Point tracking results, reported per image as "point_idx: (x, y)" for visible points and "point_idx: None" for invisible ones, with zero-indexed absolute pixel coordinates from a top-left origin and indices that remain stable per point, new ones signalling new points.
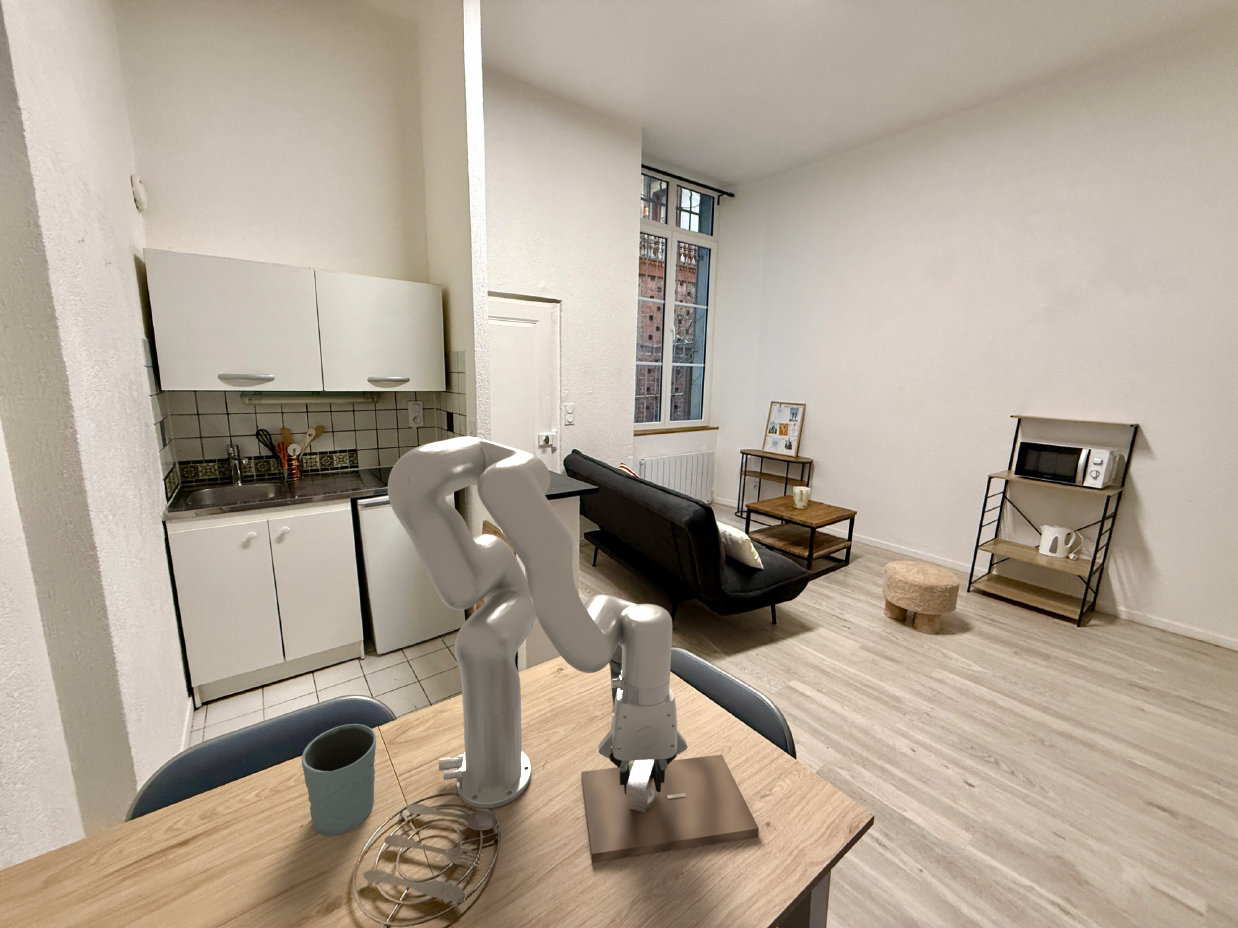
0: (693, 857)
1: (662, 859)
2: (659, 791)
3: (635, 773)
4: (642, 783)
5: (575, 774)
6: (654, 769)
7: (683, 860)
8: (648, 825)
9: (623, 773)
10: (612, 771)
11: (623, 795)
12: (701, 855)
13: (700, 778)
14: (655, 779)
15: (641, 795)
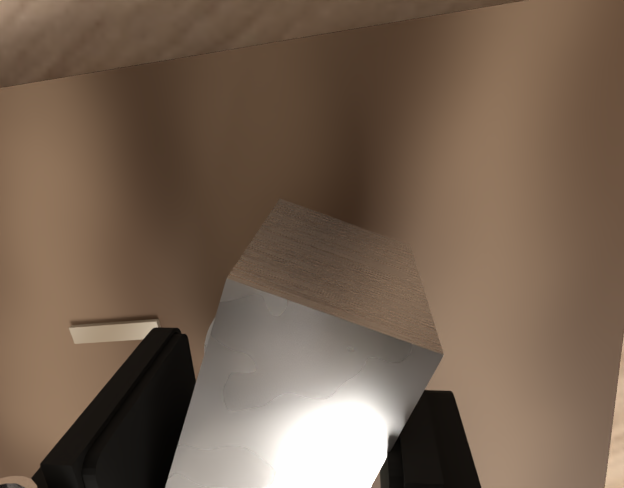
0: (52, 20)
1: (212, 9)
2: (160, 328)
3: (324, 469)
4: (257, 359)
5: (605, 481)
6: (163, 481)
7: (102, 2)
8: (269, 172)
9: (449, 481)
10: None
11: None
12: (13, 32)
13: (7, 408)
14: (169, 406)
15: (283, 260)
